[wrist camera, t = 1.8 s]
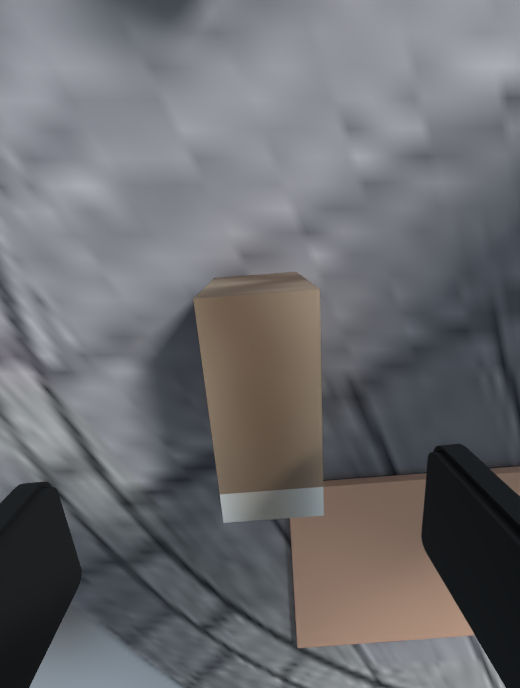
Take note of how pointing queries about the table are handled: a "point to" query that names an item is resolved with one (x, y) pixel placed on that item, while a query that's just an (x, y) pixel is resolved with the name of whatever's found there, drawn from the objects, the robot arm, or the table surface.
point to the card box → (264, 393)
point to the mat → (372, 566)
